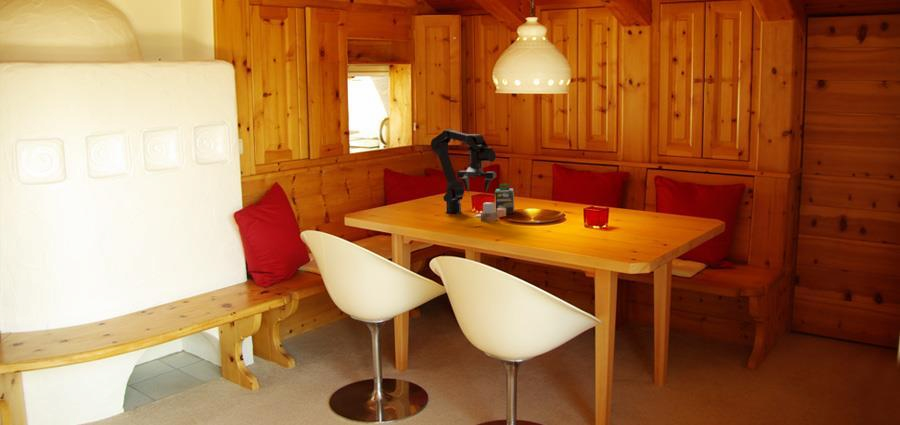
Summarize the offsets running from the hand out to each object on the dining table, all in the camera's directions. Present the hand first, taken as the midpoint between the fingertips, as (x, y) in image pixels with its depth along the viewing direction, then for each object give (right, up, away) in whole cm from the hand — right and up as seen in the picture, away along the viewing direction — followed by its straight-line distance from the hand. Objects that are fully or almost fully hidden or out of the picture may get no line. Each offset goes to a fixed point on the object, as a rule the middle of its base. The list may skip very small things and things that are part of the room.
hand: (476, 192), depth 430 cm
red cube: (+12, -12, 0) cm, 17 cm away
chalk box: (+14, -10, +10) cm, 21 cm away
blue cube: (+6, -10, -9) cm, 15 cm away
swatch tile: (+3, -12, +2) cm, 12 cm away
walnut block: (+6, -14, -8) cm, 17 cm away
